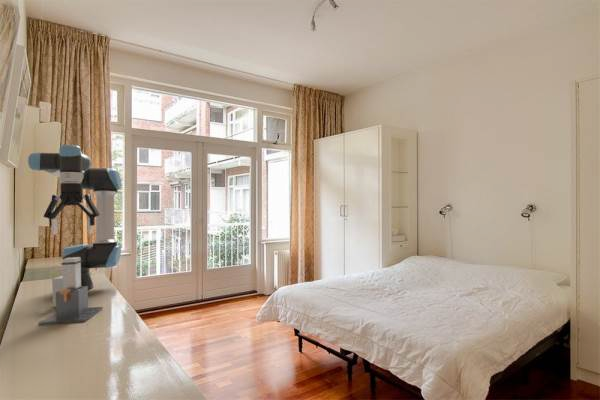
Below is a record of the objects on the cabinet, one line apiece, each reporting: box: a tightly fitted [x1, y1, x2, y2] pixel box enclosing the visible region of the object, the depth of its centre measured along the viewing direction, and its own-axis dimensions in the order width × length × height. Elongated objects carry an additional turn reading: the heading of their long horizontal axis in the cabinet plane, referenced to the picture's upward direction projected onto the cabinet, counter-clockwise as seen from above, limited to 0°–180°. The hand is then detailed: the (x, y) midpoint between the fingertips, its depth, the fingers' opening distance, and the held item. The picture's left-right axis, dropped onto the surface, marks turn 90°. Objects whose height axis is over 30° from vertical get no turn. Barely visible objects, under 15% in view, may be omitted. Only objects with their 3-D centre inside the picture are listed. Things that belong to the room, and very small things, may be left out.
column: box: [61, 257, 82, 290], centre depth 136 cm, size 5×5×22 cm
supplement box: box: [51, 275, 63, 308], centre depth 153 cm, size 7×7×13 cm
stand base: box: [38, 286, 103, 326], centre depth 136 cm, size 16×16×12 cm
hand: (72, 234), depth 142 cm, fingers open, 13 cm apart
